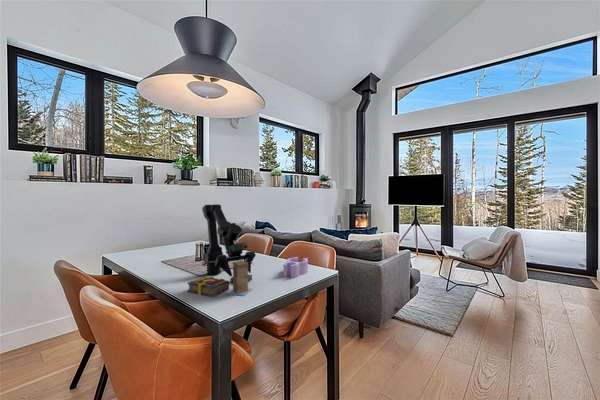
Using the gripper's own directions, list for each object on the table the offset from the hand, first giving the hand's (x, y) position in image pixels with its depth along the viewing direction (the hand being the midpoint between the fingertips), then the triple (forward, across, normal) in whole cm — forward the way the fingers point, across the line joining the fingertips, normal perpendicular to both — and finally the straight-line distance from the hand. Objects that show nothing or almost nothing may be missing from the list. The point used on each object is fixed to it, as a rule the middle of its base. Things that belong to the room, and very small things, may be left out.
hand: (241, 274), depth 124 cm
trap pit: (-4, +7, +16) cm, 18 cm away
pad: (+6, 0, +6) cm, 8 cm away
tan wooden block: (+5, 0, +6) cm, 8 cm away
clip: (-1, +38, +14) cm, 41 cm away
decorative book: (-1, -11, +14) cm, 17 cm away
